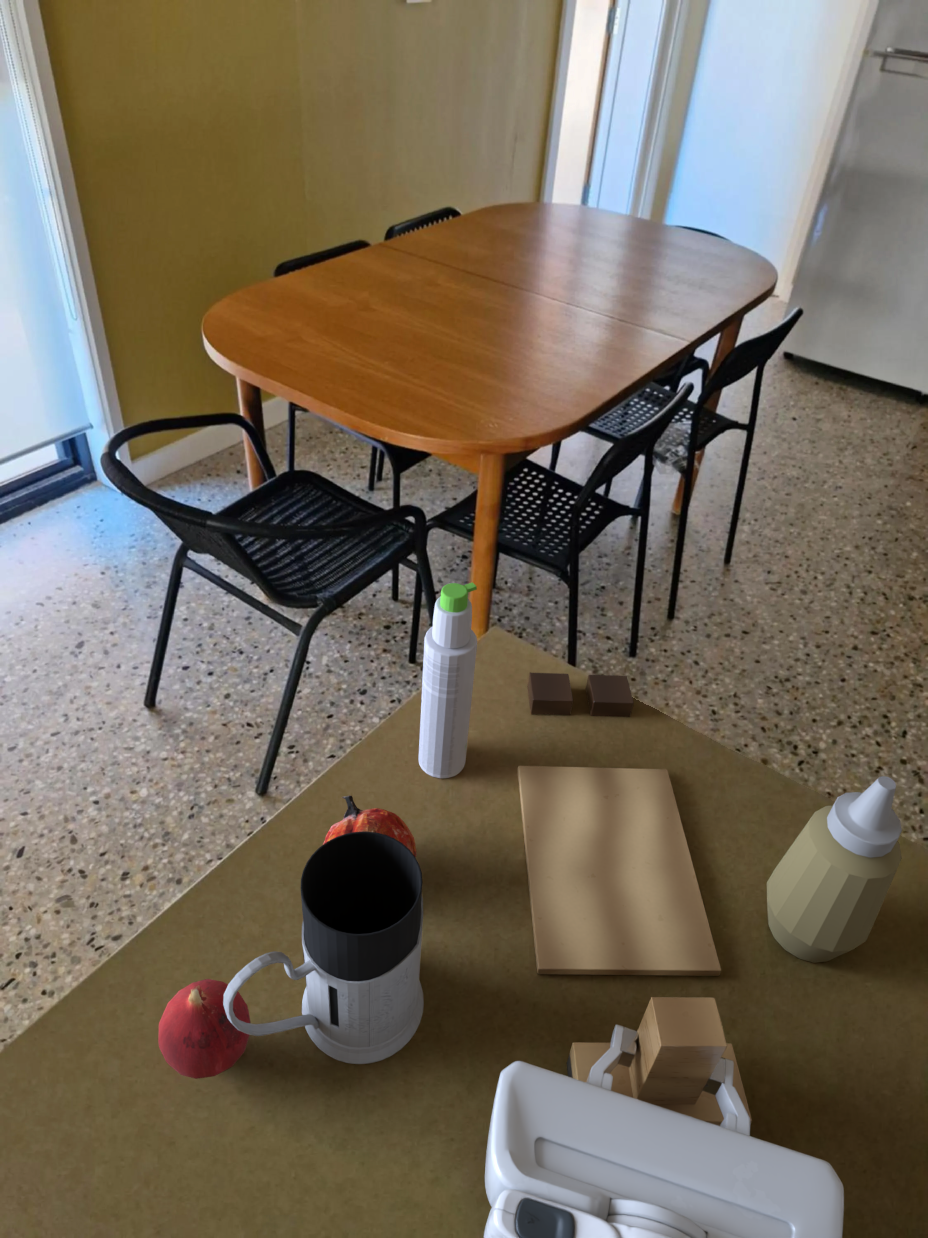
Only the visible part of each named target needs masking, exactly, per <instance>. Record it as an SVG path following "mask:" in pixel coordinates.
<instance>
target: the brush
mask: <svg viewBox="0 0 928 1238" xmlns="http://www.w3.org/2000/svg"><path fill="white" fill-rule="evenodd" d="M648 1001H649V1002H648V1004H647V1007H646V1009H645V1011H644V1014H643V1016H642V1019H641V1020H640V1021H641V1022H640V1024H639V1027H638V1028H637V1031H638V1039H637V1041H636V1045H637V1046H636V1053H635V1057H634V1059H633V1060H632V1064H631V1066H630V1067H626V1066H623V1065H620V1064H617V1066H616V1067H615V1068H614V1069H613V1070H612V1071H611V1073H610V1074H611V1075H612V1076H613V1080H612V1087H611V1091H614V1092H617V1093H620V1094H623V1095H626V1096H629V1097H632V1098H635V1099H638V1100H641V1101H644V1102H647V1103H650V1104H654V1105H657V1106H660V1107H663V1108H666V1109H669V1110H672V1111H675V1112H678V1113H681V1114H684V1115H687V1116H690V1117H693V1118H696V1119H699V1120H702V1121H706V1122H709V1123H712V1124H715V1125H718V1126H720V1125H721V1123H722V1121H723V1120H724V1117H723V1115H722V1112H721V1110H720V1107H719V1105H718V1102H717V1100H716V1097H715V1095H713V1094H710V1093H707V1092H704V1091H702V1090H703V1088H704V1086H705V1085H706V1084H707V1081H708V1079H709V1078H710V1076H711V1075H712V1073H713V1071H714V1069H715V1067H716V1066H717V1064H718V1062H719V1060H720V1058H721V1057H723V1058H726V1059H729V1060H732V1061H733V1062H734V1069H733V1087H735V1089H736V1091H737V1093H738V1095H739V1097H740V1099H741V1101H742V1103H743V1105H744V1107H745V1109H746V1111H747V1113H748V1115H749V1117H750V1125H751V1124H752V1123H753V1120H752V1115H751V1111H750V1108H749V1104H748V1100H747V1096H746V1091H745V1088H744V1085H743V1081H742V1077H741V1073H740V1070H739V1066H738V1061H737V1058H736V1055H735V1050H734V1046H733V1043H728V1042H727V1040H726V1036H725V1032H724V1028H723V1025H722V1020H721V1017H720V1012H719V1009H718V1004H717V1001H716V997H693V996H692V997H689V996H688V997H687V996H686V997H681V996H679V997H678V996H677V997H676V996H668V997H666V996H651V997H650V999H649V1000H648ZM610 1044H611V1042H572V1044H571V1048H570V1050H569V1054H568V1057H567V1061H566V1071H567V1076H568V1077H571V1078H574V1079H577V1080H580V1081H583V1082H586V1081H587V1078H588V1076H589V1073H590V1070H591V1067H592V1066H593V1065H594V1064H595V1063H596V1062H597V1061H598V1060H599V1059H600V1058H601V1057H602V1056H603V1055H604V1054H605V1053H606V1052H607V1051H608V1050H609V1049H610Z"/></svg>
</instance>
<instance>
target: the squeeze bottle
mask: <svg viewBox="0 0 928 1238" xmlns="http://www.w3.org/2000/svg"><path fill="white" fill-rule="evenodd" d="M896 788H897V783H896V782H895V780H893V778H891V777H889V776H886V775H883V776H882V775H881V776H879V777H878V778H877V779H875V781H874V782H872V783H871V785H870V786H868V788H867V789H865V790H864V791H863V792H860V791H852V792H845V793H843V794H841V795H840V796H837V798H836V799H835V801H834V803H833V804H832V805H825V806H824V807H821V808H820V809H818V810H816V811H814V813H813V814H812V816H811V817H810V818H809V820H808V821H807V823H806V824H805V825H804V826H803V828H802V830H801V831H800V833H799V834H798V835H797V837H796V838H795V840H794V841H793V842H792V843H791V845H790V846H789V848H788V849H787V851H786V852H785V854H784V855H783V857H782V858H781V859H780V861H779V862H778V863H777V865H776V867H775V868H774V870H772V872H771V874H770V877H769V878H768V880H767V882H766V906H767V923H768V927H769V929H770V932H771V934H772V936H773V938H774V939H775V941H776V942H777V943H778V945H780V946H781V948H782V949H784V950H785V951H786V952H787V953H789V954H791V955H792V956H794V957H796V958H798V959H800V960H802V961H807V962H811V963H823V962H829V961H832V960H834V959H836V958H838V957H840V956H842V955H845V954H846V953H848V952H852V951H853V950H854V949H855V948H857V947H859V946H861V945H863V943H865V942H867V940H868V938H869V935H870V933H871V931H872V929H873V927H874V924H875V921H876V920H877V917H878V915H879V913H880V910H881V908H882V906H883V903H884V901H885V899H886V897H887V894H888V892H889V890H890V887H891V885H892V882H893V880H894V878H895V875H896V873H897V870H898V868H899V866H900V863H901V862H902V851H901V845H900V843H899V841H898V840H899V839H900V836H901V835H902V831H903V829H902V823H901V820H900V818H899V817H898V815H897V814H896V812H895V810H894V809H893V808H892V807H893V803H894V799H895V798H894V797H895V793H896Z"/></svg>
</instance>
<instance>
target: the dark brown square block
mask: <svg viewBox="0 0 928 1238" xmlns="http://www.w3.org/2000/svg"><path fill="white" fill-rule="evenodd" d="M585 694H586V698H587V703H588V709H589V713H590V716H591V717H610V718H612V717H614V718H631V714H632V711H633V707H634V704H635V703H634V700H633V695H632V691H631V686H630V683H629V678H628V675H610V674H605V675H604V674H587V679H586V684H585Z"/></svg>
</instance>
